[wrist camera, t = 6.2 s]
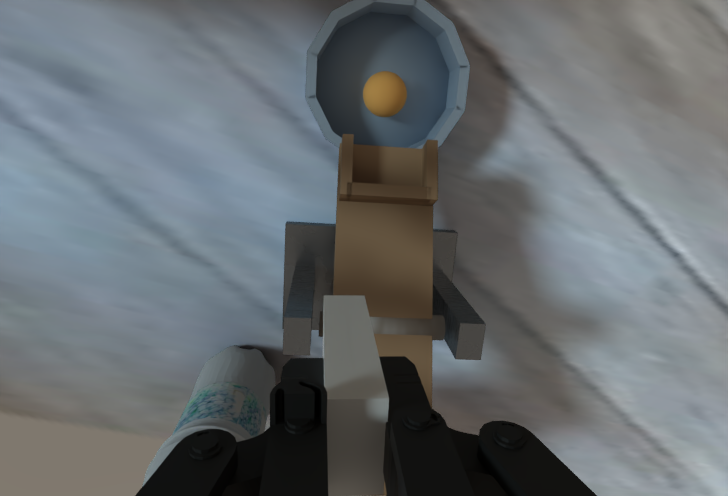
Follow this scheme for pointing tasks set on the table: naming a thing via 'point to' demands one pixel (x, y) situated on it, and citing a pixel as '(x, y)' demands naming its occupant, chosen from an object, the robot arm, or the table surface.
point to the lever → (390, 246)
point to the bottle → (225, 399)
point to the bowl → (387, 53)
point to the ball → (384, 94)
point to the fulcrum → (315, 279)
